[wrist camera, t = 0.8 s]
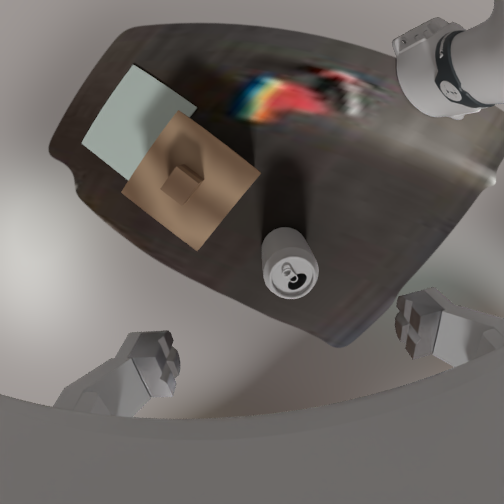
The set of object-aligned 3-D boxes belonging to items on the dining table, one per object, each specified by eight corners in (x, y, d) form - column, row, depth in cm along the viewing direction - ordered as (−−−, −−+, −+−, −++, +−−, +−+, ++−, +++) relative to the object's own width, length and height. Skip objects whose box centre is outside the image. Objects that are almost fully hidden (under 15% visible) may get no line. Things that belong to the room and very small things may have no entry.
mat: (134, 65, 38) (133, 64, 38) (197, 107, 41) (197, 107, 41) (82, 142, 42) (81, 143, 42) (139, 187, 45) (138, 188, 45)
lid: (180, 110, 33) (169, 106, 28) (260, 172, 36) (262, 176, 31) (124, 191, 37) (107, 198, 32) (198, 248, 39) (191, 263, 35)
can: (282, 276, 51) (290, 314, 40) (251, 247, 49) (251, 279, 38) (315, 247, 49) (332, 278, 38) (284, 216, 47) (295, 239, 36)
